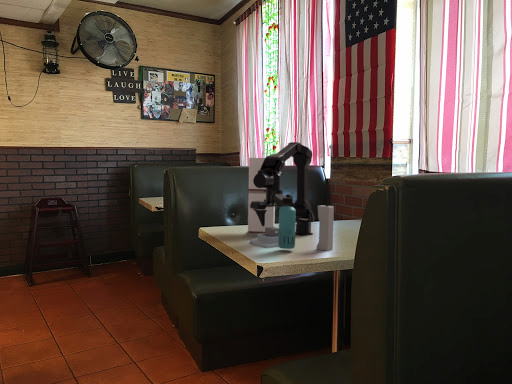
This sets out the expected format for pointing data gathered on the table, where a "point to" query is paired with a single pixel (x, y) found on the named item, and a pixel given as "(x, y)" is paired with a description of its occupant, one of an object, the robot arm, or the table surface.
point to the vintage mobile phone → (325, 226)
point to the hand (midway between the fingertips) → (272, 225)
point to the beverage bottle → (287, 225)
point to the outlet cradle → (265, 241)
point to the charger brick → (271, 231)
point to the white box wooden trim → (257, 195)
